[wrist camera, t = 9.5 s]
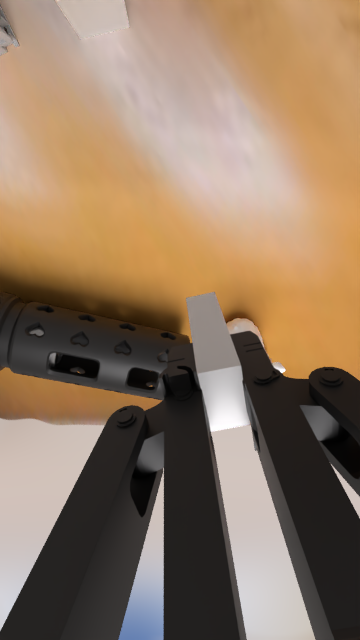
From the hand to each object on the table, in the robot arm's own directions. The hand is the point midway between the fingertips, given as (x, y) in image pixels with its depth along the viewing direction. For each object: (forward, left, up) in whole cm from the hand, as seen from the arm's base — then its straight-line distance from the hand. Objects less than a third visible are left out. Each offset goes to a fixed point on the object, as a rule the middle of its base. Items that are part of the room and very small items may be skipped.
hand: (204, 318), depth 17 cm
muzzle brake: (+16, +11, -26) cm, 32 cm away
